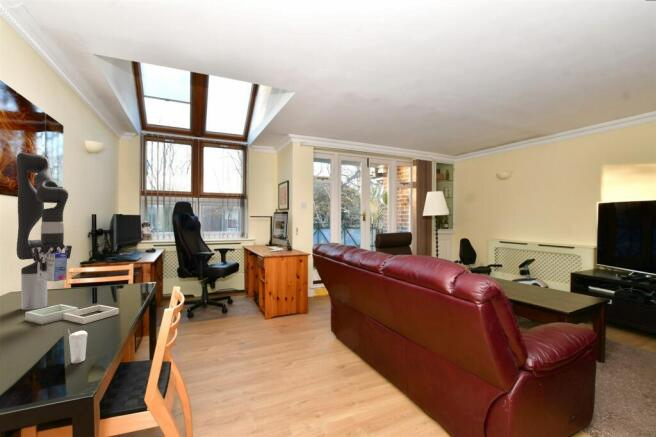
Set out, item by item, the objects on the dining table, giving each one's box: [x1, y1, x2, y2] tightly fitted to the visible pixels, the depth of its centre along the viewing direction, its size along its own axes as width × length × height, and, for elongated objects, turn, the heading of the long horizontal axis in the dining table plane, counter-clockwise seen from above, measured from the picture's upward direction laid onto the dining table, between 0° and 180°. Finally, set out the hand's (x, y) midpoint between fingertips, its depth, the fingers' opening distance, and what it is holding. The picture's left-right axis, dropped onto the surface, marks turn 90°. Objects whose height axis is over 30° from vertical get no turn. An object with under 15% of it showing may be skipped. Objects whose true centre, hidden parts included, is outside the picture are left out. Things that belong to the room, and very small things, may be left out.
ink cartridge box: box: [37, 250, 68, 282], centre depth 135 cm, size 10×6×14 cm, turn 78°
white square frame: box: [62, 304, 120, 325], centre depth 137 cm, size 15×15×2 cm
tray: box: [24, 304, 79, 325], centre depth 135 cm, size 13×13×4 cm
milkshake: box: [67, 328, 88, 364], centre depth 95 cm, size 4×5×10 cm
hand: (52, 269), depth 135 cm, fingers closed on ink cartridge box, 5 cm apart
